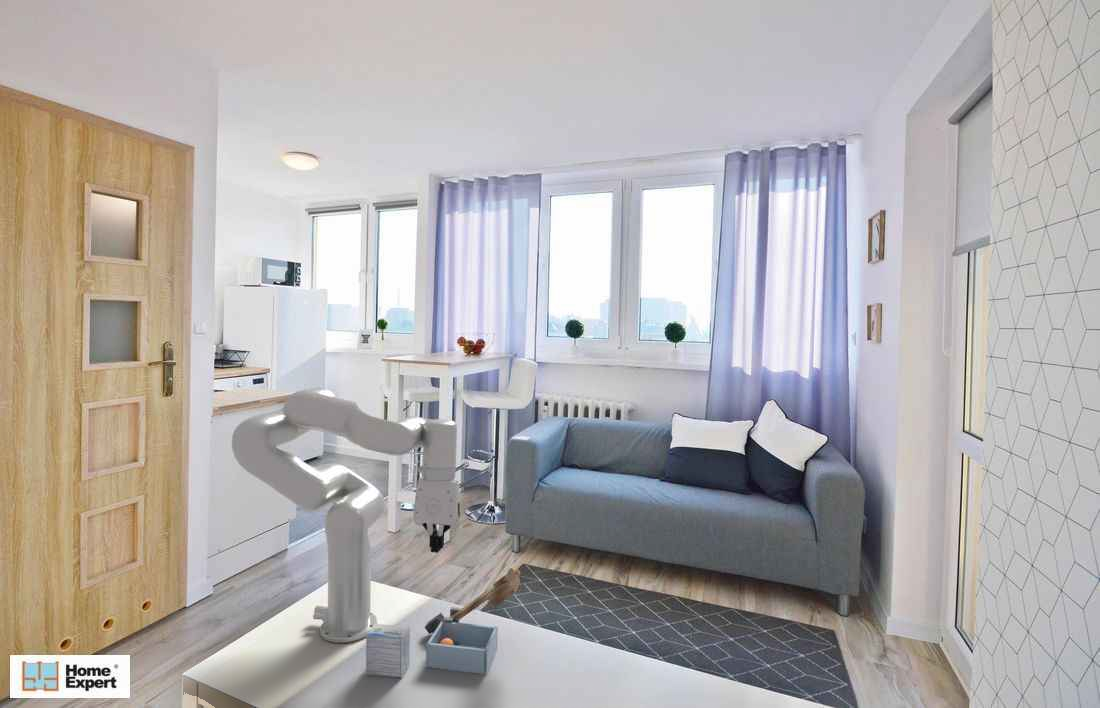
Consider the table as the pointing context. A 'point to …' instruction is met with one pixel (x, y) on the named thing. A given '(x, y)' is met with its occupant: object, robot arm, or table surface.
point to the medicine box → (388, 650)
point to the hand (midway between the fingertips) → (436, 550)
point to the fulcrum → (450, 620)
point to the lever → (483, 598)
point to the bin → (462, 647)
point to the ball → (447, 641)
